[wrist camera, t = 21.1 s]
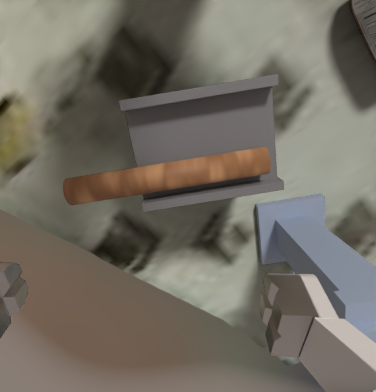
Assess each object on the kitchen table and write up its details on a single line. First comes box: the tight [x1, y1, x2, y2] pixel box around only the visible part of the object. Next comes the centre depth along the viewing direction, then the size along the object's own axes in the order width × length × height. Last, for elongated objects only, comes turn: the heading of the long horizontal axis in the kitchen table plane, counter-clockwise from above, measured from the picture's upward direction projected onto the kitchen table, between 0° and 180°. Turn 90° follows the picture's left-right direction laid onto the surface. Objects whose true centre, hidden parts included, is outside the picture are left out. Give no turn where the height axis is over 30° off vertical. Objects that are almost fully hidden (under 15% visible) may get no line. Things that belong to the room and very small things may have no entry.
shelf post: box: [256, 194, 376, 343], centre depth 37 cm, size 12×12×27 cm
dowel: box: [63, 147, 271, 205], centre depth 29 cm, size 22×3×3 cm
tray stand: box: [119, 74, 284, 212], centre depth 36 cm, size 16×12×18 cm
